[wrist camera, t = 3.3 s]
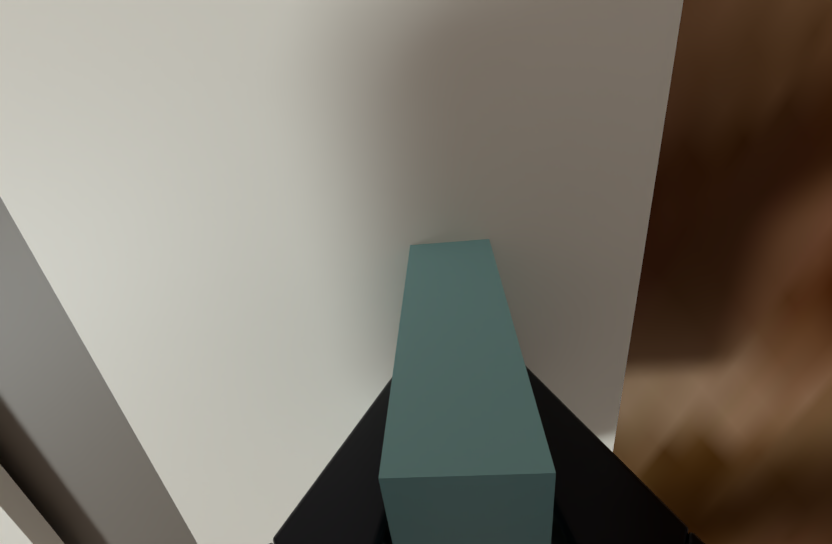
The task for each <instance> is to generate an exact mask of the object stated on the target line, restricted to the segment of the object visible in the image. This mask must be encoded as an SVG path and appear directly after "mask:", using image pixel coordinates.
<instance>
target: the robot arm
mask: <svg viewBox="0 0 832 544" xmlns="http://www.w3.org/2000/svg"><path fill="white" fill-rule="evenodd" d="M525 366H526V365H525ZM526 370H527V373H528V377H529V380H530V384H531V387H532V391H533V394H534V398H535V401H536V405H537V408H538V412H539V415H540V419H541V422H542V426H543V429H544V433H545V436H546V440H547V443H548V447H549V450H550V454H551V457H552V461H553V464H554V468H555V471H556V479H555V493H554V507H553V522H552V536H551V544H705V543H704V542H703V541H702V540H701V539H700V538H699V537H698V536H697V535H696V534H694V533H689V534H688V527H687V526H686V525H685V524H684V523H683V522H682V521H681V520H680V519H679V518H678V517H677V516H676V515H675V514H674V513H673V512H672V511H671V510H670V509H669V508H668V507H667V506H666V505H665V504H664V503H663V502H662V501H661V500H660V499H659V498H658V497H657V496H656V495H655V494H654V493H653V492H652V491H651V490H650V489H649V488H648V487H647V486H646V485H645V484H644V483H643V482H642V481H641V480H640V479H639V478H638V477H637V476H636V475H635V474H634V473H633V472H632V471H631V470H630V469H629V468H628V467H627V466H626V465H625V464H624V463H623V462H622V461H621V460H620V459H619V458H618V457H617V456H616V455H615V454H614V453H613V452H612V451H611V450H610V449H609V448H608V447H607V446H606V445H605V444H604V443H603V442H602V441H601V440H600V439H599V438H598V437H597V436H596V435H595V434H594V433H593V432H592V431H591V430H590V429H589V428H588V427H587V426H586V425H585V424H584V423H583V422H582V421H581V420H580V419H579V418H578V417H577V416H576V415H575V414H574V413H573V412H572V411H571V410H570V409H569V408H568V407H567V406H566V405H565V404H564V403H563V402H562V401H561V400H560V399H559V398H558V397H557V396H556V395H555V394H554V393H553V392H552V391H551V390H550V389H549V388H548V387H547V386H546V385H545V384H544V383H543V382H542V381H541V380H540V379H539V378H538V377H537V376H536V375H535V374H534V373H533V372H532V371H531V370H530V369H529V368H528V367H527V366H526ZM391 382H392V378H391V379H390V380H389V382H388V383H387V384H386V386H385V387H384V388H383V390H382V391H381V392H380V394H379V395H378V396H377V398H376V399H375V401H374V402H373V403H372V405H371V406H370V407H369V409H368V410H367V411H366V413H365V414H364V415H363V417H362V418H361V419H360V421H359V422H358V424H357V425H356V426H355V428H354V429H353V430H352V432H351V433H350V434H349V436H348V437H347V438H346V440H345V441H344V442H343V444H342V445H341V447H340V448H339V449H338V451H337V452H336V453H335V455H334V456H333V457H332V459H331V460H330V461H329V463H328V464H327V465H326V467H325V468H324V469H323V471H322V472H321V474H320V475H319V476H318V478H317V479H316V480H315V482H314V483H313V484H312V486H311V487H310V488H309V490H308V491H307V492H306V494H305V495H304V497H303V498H302V499H301V501H300V502H299V503H298V505H297V506H296V507H295V509H294V510H293V511H292V513H291V514H290V515H289V517H288V518H287V520H286V521H285V522H284V524H283V525H282V526H281V528H280V529H279V530H278V532H277V533H276V534H275V536H274V537H273V543H274V544H392V539H391V534H390V530H389V525H388V521H387V516H386V511H385V507H384V502H383V497H382V493H381V488H380V483H379V479H378V478H379V471H380V463H381V456H382V448H383V441H384V434H385V426H386V419H387V412H388V404H389V397H390V390H391ZM273 543H269V544H273Z"/></svg>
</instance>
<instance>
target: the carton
mask: <svg viewBox="0 0 832 544" xmlns="http://www.w3.org/2000/svg"><path fill="white" fill-rule="evenodd" d="M0 464H1V466H2V467H3V468H4V469H5V471H6V472H7V473H8V474H9V476H10V477H11V478H12V479H13V481H14V482H15V483H16V484H17V485H18V487H19V488H20V489H21V490H22V492H23V493H24V494H25V495H26V497H27V498H28V499H29V500H30V502H31V503H32V504H33V505H34V506H35V508H36V509H37V510H38V511H39V513H40V514H41V515H42V516H43V518H44V519H45V520H46V521H47V523H48V524H49V525H50V526H51V527H52V529H53V530H54V531H55V532H56V534H57V535H58V536H59V537H60V539H61V540H62V541H63V542H64V544H197V542H196V540H195V538H194V537H193V535H192V533H191V531H190V530H189V528H188V526H187V524H186V523H185V521H184V519H183V517H182V515H181V514H180V512H179V510H178V508H177V507H176V505H175V503H174V501H173V500H172V498H171V496H170V494H169V493H168V491H167V489H166V487H165V486H164V484H163V482H162V480H161V479H160V477H159V475H158V473H157V471H156V470H155V468H154V466H153V464H152V463H151V461H150V459H149V457H148V456H147V454H146V452H145V450H144V449H143V447H142V445H141V443H140V442H139V440H138V438H137V436H136V435H135V433H134V431H133V429H132V428H131V426H130V424H129V422H128V420H127V419H126V417H125V415H124V413H123V412H122V410H121V408H120V406H119V405H118V403H117V401H116V399H115V398H114V396H113V394H112V392H111V391H110V389H109V387H108V385H107V384H106V382H105V380H104V378H103V377H102V375H101V373H100V371H99V369H98V368H97V366H96V364H95V362H94V361H93V359H92V357H91V355H90V354H89V352H88V350H87V348H86V347H85V345H84V343H83V341H82V340H81V338H80V336H79V334H78V333H77V331H76V329H75V327H74V325H73V324H72V322H71V320H70V318H69V317H68V315H67V313H66V311H65V310H64V308H63V306H62V304H61V303H60V301H59V299H58V297H57V296H56V294H55V292H54V290H53V289H52V287H51V285H50V283H49V282H48V280H47V278H46V276H45V274H44V273H43V271H42V269H41V267H40V266H39V264H38V262H37V260H36V259H35V257H34V255H33V253H32V252H31V250H30V248H29V246H28V245H27V243H26V241H25V239H24V238H23V236H22V234H21V232H20V231H19V229H18V227H17V225H16V223H15V222H14V220H13V218H12V216H11V215H10V213H9V211H8V209H7V208H6V206H5V204H4V202H3V201H2V199H1V197H0Z"/></svg>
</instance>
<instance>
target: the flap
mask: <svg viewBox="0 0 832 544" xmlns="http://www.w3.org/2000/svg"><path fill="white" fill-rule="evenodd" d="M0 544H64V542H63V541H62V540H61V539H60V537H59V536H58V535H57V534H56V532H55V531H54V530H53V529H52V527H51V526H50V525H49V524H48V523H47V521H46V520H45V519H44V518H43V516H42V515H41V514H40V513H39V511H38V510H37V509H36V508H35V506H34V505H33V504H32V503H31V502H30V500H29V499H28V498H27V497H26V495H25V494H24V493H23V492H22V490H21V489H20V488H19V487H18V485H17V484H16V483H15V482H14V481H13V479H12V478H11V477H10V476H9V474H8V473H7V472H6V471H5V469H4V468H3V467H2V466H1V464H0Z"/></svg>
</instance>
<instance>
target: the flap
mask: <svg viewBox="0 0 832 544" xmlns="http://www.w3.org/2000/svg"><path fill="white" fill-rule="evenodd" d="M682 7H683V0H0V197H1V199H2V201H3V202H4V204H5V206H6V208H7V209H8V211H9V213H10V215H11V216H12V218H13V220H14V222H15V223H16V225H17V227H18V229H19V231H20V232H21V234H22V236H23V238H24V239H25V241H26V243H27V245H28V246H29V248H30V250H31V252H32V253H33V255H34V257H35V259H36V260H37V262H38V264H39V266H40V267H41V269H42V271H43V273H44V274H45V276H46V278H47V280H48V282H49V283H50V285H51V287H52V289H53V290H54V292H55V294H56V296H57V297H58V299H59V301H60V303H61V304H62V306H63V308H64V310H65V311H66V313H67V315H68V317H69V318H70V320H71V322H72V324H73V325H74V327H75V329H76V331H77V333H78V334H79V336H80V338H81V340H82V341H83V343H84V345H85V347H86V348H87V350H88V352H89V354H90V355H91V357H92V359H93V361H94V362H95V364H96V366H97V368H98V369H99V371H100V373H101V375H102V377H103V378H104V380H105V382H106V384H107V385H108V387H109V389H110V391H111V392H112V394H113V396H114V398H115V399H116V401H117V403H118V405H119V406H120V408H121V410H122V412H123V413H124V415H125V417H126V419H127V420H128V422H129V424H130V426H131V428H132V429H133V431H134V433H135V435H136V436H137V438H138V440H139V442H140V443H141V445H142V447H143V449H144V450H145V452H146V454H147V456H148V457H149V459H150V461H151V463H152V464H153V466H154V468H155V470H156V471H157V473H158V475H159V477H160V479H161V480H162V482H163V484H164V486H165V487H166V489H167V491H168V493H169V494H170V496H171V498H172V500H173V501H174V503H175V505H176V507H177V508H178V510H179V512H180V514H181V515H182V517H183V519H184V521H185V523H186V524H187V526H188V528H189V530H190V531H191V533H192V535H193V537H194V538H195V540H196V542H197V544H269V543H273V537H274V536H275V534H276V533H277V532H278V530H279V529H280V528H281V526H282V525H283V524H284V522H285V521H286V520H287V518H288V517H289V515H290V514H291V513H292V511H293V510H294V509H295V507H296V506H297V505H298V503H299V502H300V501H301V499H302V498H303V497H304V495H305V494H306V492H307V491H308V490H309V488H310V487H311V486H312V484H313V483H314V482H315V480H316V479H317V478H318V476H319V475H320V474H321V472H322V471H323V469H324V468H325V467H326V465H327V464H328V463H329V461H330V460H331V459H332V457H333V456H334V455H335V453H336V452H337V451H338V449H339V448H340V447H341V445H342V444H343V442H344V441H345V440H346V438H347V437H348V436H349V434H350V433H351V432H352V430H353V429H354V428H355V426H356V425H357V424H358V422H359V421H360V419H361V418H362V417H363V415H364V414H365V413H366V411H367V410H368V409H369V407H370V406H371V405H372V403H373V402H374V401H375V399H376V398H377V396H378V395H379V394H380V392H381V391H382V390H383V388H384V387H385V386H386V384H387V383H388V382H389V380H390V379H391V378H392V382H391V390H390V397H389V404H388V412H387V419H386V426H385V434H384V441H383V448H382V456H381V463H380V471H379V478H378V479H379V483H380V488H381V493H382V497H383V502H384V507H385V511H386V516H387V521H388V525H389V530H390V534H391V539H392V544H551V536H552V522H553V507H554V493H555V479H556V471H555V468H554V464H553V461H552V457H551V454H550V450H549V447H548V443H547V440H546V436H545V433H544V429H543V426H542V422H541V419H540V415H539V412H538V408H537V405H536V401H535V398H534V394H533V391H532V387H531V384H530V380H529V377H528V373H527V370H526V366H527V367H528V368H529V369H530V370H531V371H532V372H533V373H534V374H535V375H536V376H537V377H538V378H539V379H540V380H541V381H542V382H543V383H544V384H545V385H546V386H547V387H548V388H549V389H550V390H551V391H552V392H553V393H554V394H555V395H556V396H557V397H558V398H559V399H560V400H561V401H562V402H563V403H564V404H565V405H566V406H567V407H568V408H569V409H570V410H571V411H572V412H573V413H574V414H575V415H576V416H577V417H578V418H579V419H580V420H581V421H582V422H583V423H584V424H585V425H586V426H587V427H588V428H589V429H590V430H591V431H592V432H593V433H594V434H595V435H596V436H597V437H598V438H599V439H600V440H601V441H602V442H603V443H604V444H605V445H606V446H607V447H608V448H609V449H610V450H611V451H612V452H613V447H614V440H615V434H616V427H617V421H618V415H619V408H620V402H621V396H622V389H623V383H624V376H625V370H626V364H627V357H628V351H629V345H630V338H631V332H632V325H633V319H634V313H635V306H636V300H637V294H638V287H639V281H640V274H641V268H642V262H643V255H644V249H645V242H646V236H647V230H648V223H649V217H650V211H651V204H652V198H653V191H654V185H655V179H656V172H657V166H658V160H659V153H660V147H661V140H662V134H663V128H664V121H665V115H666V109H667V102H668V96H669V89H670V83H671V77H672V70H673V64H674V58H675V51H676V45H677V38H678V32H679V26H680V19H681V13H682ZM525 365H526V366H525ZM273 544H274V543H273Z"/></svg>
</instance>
